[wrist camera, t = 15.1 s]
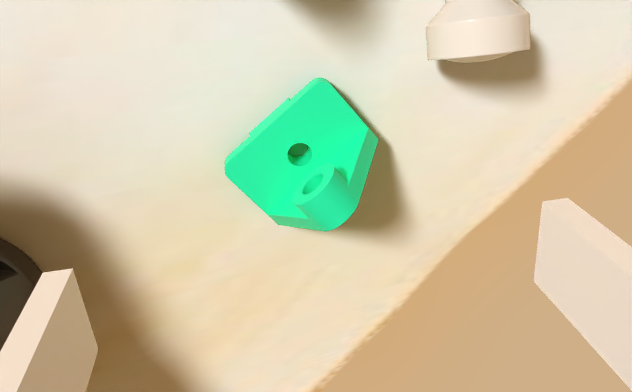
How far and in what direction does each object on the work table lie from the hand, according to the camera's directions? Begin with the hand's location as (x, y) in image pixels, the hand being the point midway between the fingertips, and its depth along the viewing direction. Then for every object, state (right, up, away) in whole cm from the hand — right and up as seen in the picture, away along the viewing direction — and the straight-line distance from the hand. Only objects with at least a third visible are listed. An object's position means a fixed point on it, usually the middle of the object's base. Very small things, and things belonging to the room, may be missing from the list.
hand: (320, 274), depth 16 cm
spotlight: (+12, +20, +32) cm, 39 cm away
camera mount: (-2, +7, +36) cm, 36 cm away
